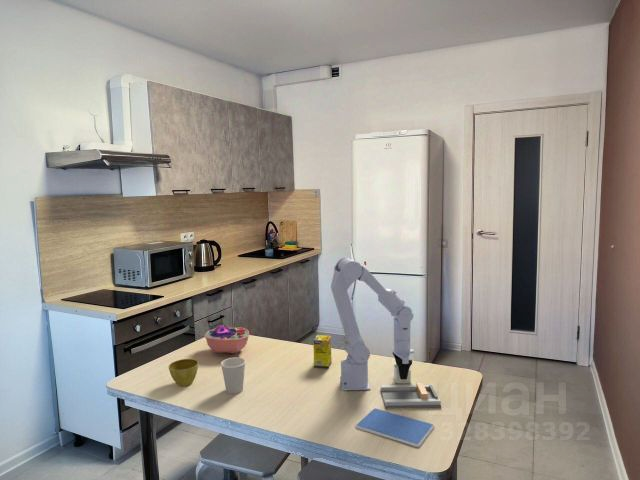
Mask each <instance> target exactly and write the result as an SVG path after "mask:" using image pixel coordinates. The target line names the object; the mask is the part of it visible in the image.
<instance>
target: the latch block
mask: <svg viewBox="0 0 640 480" xmlns="http://www.w3.org/2000/svg"><path fill="white" fill-rule="evenodd" d="M415 385H416V390H417V392H418V395H419V397H420V399H428V393H427V391H426V389H425V387H424V385H425V384H424V383H423V382H416V383H415Z"/></svg>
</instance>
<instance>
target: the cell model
mask: <svg viewBox="0 0 640 480" xmlns="http://www.w3.org/2000/svg"><path fill="white" fill-rule="evenodd" d="M203 336H204V338H205V340H206V344H207V346H208V347H209V348H210V350H211V351H213V352H215V353H218V354H219V353H221V354H224V353H229V354H236V353H239V352H240V351H242V350H243V349H244V348H245V347H246V345H248V344H247V343H248V340H249V336H250V331H249V329H247V328H245V327H237V326H226V325H225V324H219V325H217V326H216V327H215V328H213V329H210V330H208V331H206V332H205V334H204V335H203Z"/></svg>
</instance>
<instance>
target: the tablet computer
mask: <svg viewBox="0 0 640 480" xmlns="http://www.w3.org/2000/svg"><path fill="white" fill-rule="evenodd" d="M354 428H355V429H357V430H361V431H364V432H367V433H369V434H373V435H377V436H380V437H383V438H386V439H389V440H393V441H396V442H400V443H403V444H406V445H408V446H412V447H414V448H420V447H421V446H422V445H423V443H424V442H425V441H426V440H427V438H428V437H429V435H430V434H431V433H432V431H434V429H435V425H434V423H430V422H426V421H423V420H418V419H415V418H411V417H408V416H404V415H400V414H398V413H394V412H390V411H386V410H383V409H379V408H372V409H371V410H370V411H369V412H368V413H367V414H366V415H365V416H364V417H362V418H361V419H360V421H358V422H357V423H355V427H354Z"/></svg>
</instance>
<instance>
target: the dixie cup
mask: <svg viewBox="0 0 640 480" xmlns="http://www.w3.org/2000/svg"><path fill="white" fill-rule="evenodd" d="M246 363H247V362H246V359H244V358H242V357H229V358H226V359H224V360H221V362H220V366H221V371H222V376H223V381H224V387H225V392H226V393H227V394H229V395H236V394H240V393H242V392H243V390H244V384H245V383H244V382H245V381H244V380H245V369H246V368H245V367H246Z"/></svg>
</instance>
